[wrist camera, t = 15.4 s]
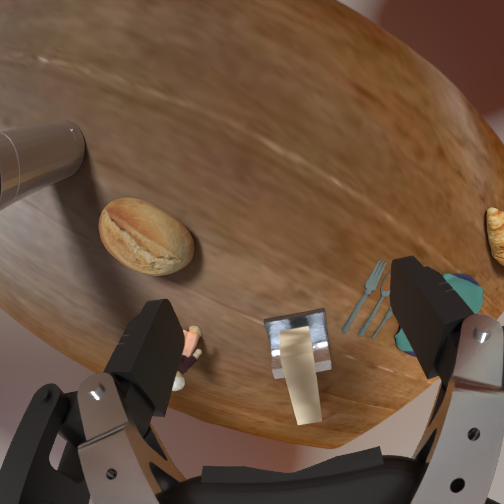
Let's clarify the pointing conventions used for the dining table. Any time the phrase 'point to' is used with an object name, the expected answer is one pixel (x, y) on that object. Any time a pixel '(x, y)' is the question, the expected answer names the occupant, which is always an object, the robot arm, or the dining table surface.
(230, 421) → the dining table surface
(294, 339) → the birch bar
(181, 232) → the bread roll
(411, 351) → the cutlery set
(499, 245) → the croissant
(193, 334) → the grandmother figurine
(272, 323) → the ridge stand
